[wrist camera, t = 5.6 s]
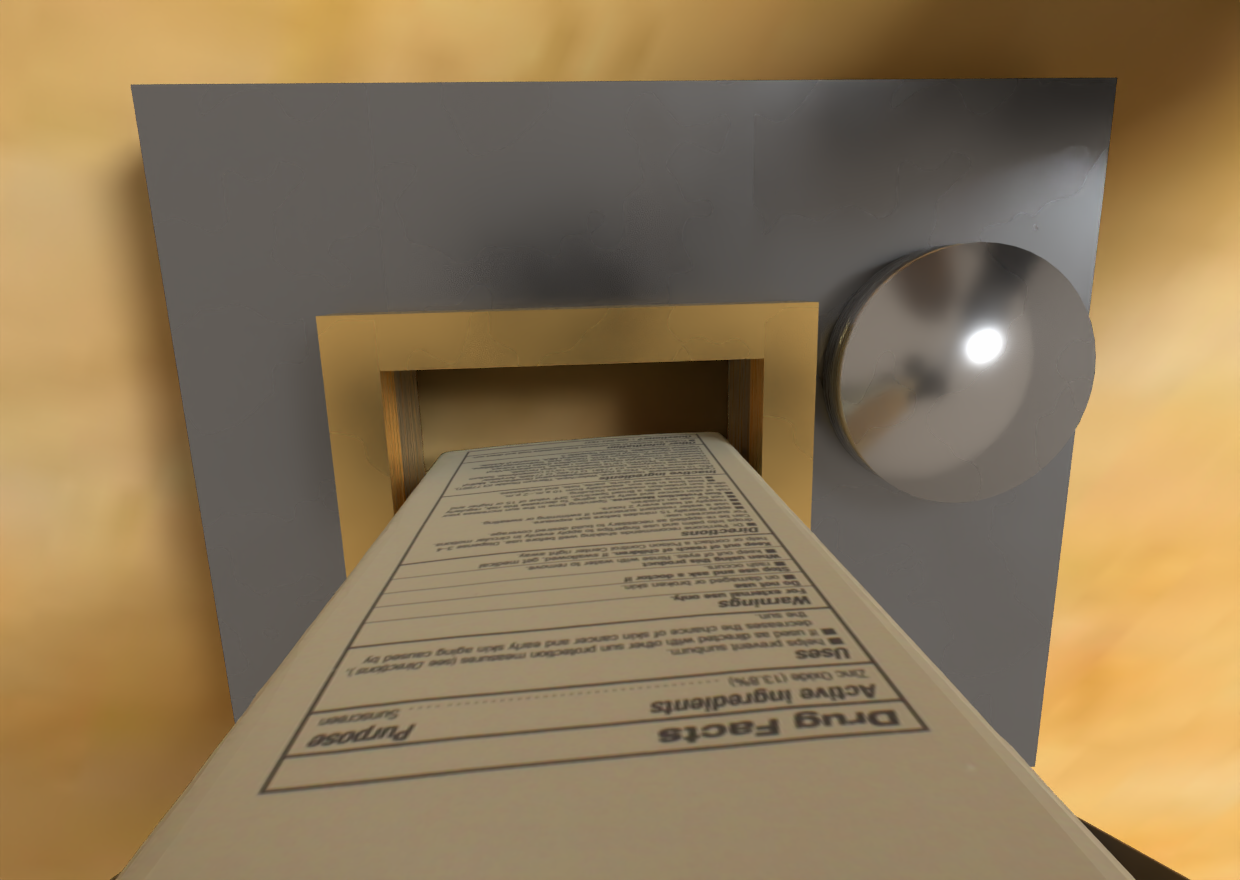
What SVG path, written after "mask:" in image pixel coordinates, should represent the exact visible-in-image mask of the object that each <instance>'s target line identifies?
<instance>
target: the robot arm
mask: <svg viewBox="0 0 1240 880" xmlns="http://www.w3.org/2000/svg"><path fill="white" fill-rule="evenodd" d="M1076 817H1077V816H1076ZM1077 818H1078V817H1077ZM1078 819H1079V820H1080V821H1081V822H1082V823H1083V824H1084V825H1085V826H1086V828H1087V829H1088V830H1089V831H1090V832H1091V833H1092V834H1093V835H1094V836H1095V837H1096V838H1097V839H1098V840H1099V841H1100V842H1101V843H1102V844H1103V846H1104V847H1105V848H1106V849H1107V850H1108V851H1109V852H1110V853H1111V854H1112V855H1113V856H1114V857H1115V858H1116V859H1117V860H1118V861H1119V862H1120V864H1121V865H1122V866H1123V867H1124V868H1125V869H1126V870H1127V871H1128V872H1129V873H1130V874H1131V875H1132V876H1133V878H1134V879H1135V880H1190V879H1188V878H1186V877H1184V876H1183V875H1181V874H1179V873H1177V872H1175V871H1174V870H1172V869H1170V868H1168V867H1166V866H1165V865H1163V864H1161V863H1159V862H1157V861H1156V860H1154V859H1152V858H1150V857H1149V856H1147V855H1145V854H1143V853H1141V852H1140V851H1138V850H1136V849H1134V848H1132V847H1131V846H1129V845H1127V844H1125V843H1123V842H1122V841H1120V840H1118V839H1116V838H1114V837H1113V836H1111V835H1109V834H1107V833H1105V832H1104V831H1102V830H1100V829H1098V828H1096V827H1095V826H1093V825H1091V824H1089V823H1087V822H1086V821H1084V820H1082V819H1080V818H1078ZM120 873H121V872H120ZM120 873H119V874H120ZM119 874H117V875H116V876H115V877H113V878H112V879H110V880H116V878H117V877H118V876H119Z"/></svg>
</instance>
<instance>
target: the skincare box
mask: <svg viewBox="0 0 1240 880" xmlns="http://www.w3.org/2000/svg"><path fill="white" fill-rule="evenodd" d="M116 880H1135V879H1134V878H1133V876H1132V875H1131V874H1130V873H1129V872H1128V871H1127V870H1126V869H1125V868H1124V867H1123V866H1122V865H1121V864H1120V862H1119V861H1118V860H1117V859H1116V858H1115V857H1114V856H1113V855H1112V854H1111V853H1110V852H1109V851H1108V850H1107V849H1106V848H1105V847H1104V846H1103V844H1102V843H1101V842H1100V841H1099V840H1098V839H1097V838H1096V837H1095V836H1094V835H1093V834H1092V833H1091V832H1090V831H1089V830H1088V829H1087V828H1086V826H1085V825H1084V824H1083V823H1082V822H1081V821H1080V820H1079V819H1078V818H1077V817H1076V816H1075V815H1074V814H1073V813H1072V812H1071V811H1070V810H1069V808H1068V807H1067V806H1066V805H1065V804H1064V803H1063V802H1062V801H1061V800H1060V799H1059V798H1058V797H1057V796H1056V795H1055V794H1054V793H1053V791H1052V790H1051V789H1050V788H1049V787H1048V786H1047V785H1046V784H1045V783H1044V781H1043V780H1042V779H1041V778H1040V777H1039V776H1038V775H1037V774H1036V773H1035V771H1034V770H1033V769H1032V768H1031V767H1030V766H1029V765H1028V764H1027V763H1026V761H1025V760H1024V759H1023V758H1022V757H1021V756H1020V755H1019V754H1018V753H1017V752H1016V750H1015V749H1014V748H1013V747H1012V746H1011V745H1010V744H1009V743H1008V742H1007V741H1006V740H1005V739H1003V738H1002V737H1001V736H1000V735H999V734H998V733H997V732H996V731H995V730H994V729H993V728H992V727H991V726H990V724H989V723H988V722H987V721H986V720H985V719H984V718H983V717H982V716H981V715H980V713H979V712H978V711H977V710H976V709H975V708H974V707H973V706H972V705H971V704H970V702H969V701H968V700H967V699H966V698H965V697H964V696H963V695H962V694H961V693H960V691H959V690H958V689H957V688H956V687H955V686H954V685H953V684H952V683H951V682H950V680H949V679H948V678H947V677H946V676H945V675H944V674H943V673H942V672H941V671H940V670H939V668H938V667H937V666H936V665H935V664H934V663H933V662H932V661H931V660H930V659H929V658H928V657H927V656H926V654H925V653H924V652H923V651H922V650H921V649H920V648H919V647H918V646H917V645H916V644H915V643H914V642H913V640H912V639H911V638H910V637H909V636H908V635H907V634H906V633H905V632H904V631H903V630H902V629H901V628H900V626H899V625H898V624H897V623H896V622H895V621H894V620H893V619H892V618H891V617H890V616H889V614H888V613H887V612H886V611H885V610H884V609H883V608H882V607H881V606H880V605H879V604H878V603H877V601H876V600H875V599H874V598H873V597H872V596H871V595H870V594H869V593H868V592H867V591H866V590H865V588H864V587H863V586H862V585H861V584H860V583H859V582H858V581H857V580H856V579H855V578H854V577H853V576H852V575H851V574H850V572H849V571H848V570H847V569H846V568H845V567H844V566H843V565H842V564H841V563H840V562H839V561H838V560H837V559H836V557H835V556H834V555H833V554H832V553H831V552H830V551H829V550H828V549H827V548H826V547H825V545H824V544H823V543H822V542H821V541H820V540H819V539H818V538H817V537H816V535H815V534H814V533H813V532H812V531H811V530H810V529H809V528H808V527H807V526H806V525H805V524H804V523H803V522H802V521H801V520H800V518H799V517H798V516H797V515H796V514H795V513H794V512H793V511H792V510H791V509H790V508H789V507H788V506H787V505H786V504H785V502H784V501H783V500H782V499H781V498H780V497H779V496H778V495H777V494H776V493H775V491H774V490H773V489H772V488H771V487H770V486H769V485H768V484H767V483H766V482H765V481H764V479H763V478H762V477H761V476H760V475H759V474H758V473H757V472H756V471H755V470H754V469H753V468H752V467H751V466H750V464H749V463H748V462H747V461H746V460H745V459H744V458H743V457H742V456H741V455H740V454H739V452H738V451H737V450H736V449H735V448H734V447H733V446H732V445H731V444H730V443H729V442H728V441H727V440H726V438H725V437H724V436H723V435H721V434H720V433H717V432H690V433H664V434H646V435H628V436H613V437H599V438H587V439H574V440H561V441H549V442H537V443H527V444H516V445H506V446H496V447H487V448H478V449H470V450H460V451H451V452H446V453H443V454H441V455H440V457H439V458H438V459H437V461H436V462H435V463H434V464H433V466H432V467H431V468H430V469H429V471H428V472H427V473H426V475H425V476H424V477H423V478H422V480H421V481H420V483H419V484H418V485H417V487H416V488H415V489H414V490H413V492H412V493H411V494H410V496H409V497H408V498H407V500H406V501H405V502H404V504H403V505H402V506H401V508H400V509H399V510H398V512H397V513H396V514H395V515H394V517H393V518H392V519H391V521H390V522H389V523H388V525H387V526H386V527H385V529H384V530H383V531H382V533H381V534H380V535H379V536H378V538H377V539H376V540H375V541H374V543H373V544H372V545H371V547H370V548H369V549H368V551H367V552H366V553H365V555H364V556H363V557H362V559H361V560H360V561H359V563H358V564H357V566H356V567H355V568H354V570H353V571H352V572H351V573H350V575H349V576H348V577H347V579H346V580H345V581H344V582H343V584H342V585H341V586H340V588H339V589H338V590H337V592H336V593H335V594H334V595H333V597H332V598H331V599H330V600H329V602H328V603H327V604H326V605H325V607H324V608H323V609H322V611H321V612H320V613H319V615H318V616H317V617H316V619H315V620H314V621H313V622H312V624H311V625H310V626H309V627H308V629H307V630H306V631H305V633H304V634H303V635H302V637H301V638H300V639H299V641H298V642H297V643H296V645H295V646H294V647H293V649H292V650H291V651H290V653H289V654H288V655H287V657H286V658H285V659H284V660H283V662H282V663H281V664H280V666H279V667H278V668H277V670H276V671H275V672H274V673H273V675H272V676H271V677H270V678H269V680H268V681H267V682H266V683H265V685H264V686H263V687H262V688H261V689H260V691H259V692H258V693H257V694H256V696H255V697H254V699H253V701H252V702H251V704H250V705H249V707H248V708H247V710H246V711H245V712H244V713H243V715H242V716H241V717H240V718H239V720H238V721H237V722H236V723H235V725H234V726H233V727H232V728H231V730H230V731H229V732H228V734H227V735H226V736H225V737H224V739H223V740H222V741H221V743H220V744H219V745H218V746H217V748H216V749H215V750H214V752H213V753H212V754H211V755H210V757H209V758H208V759H207V761H206V762H205V763H204V765H203V766H202V767H201V769H200V770H199V771H198V773H197V774H196V775H195V777H194V778H193V780H192V781H191V782H190V784H189V785H188V786H187V788H186V789H185V790H184V792H183V793H182V794H181V795H180V797H179V798H178V799H177V800H176V802H175V803H174V804H173V806H172V807H171V808H170V809H169V811H168V812H167V813H166V814H165V816H164V817H163V818H162V819H161V821H160V822H159V823H158V825H157V826H156V827H155V828H154V830H153V831H152V832H151V834H150V835H149V836H148V838H147V839H146V840H145V842H144V843H143V844H142V846H141V847H140V848H139V850H138V851H137V852H136V853H135V855H134V856H133V857H132V859H131V860H130V861H129V863H128V864H127V865H126V867H125V868H124V869H123V871H122V872H121V873H120V874H119V876H118V877H117V878H116Z"/></svg>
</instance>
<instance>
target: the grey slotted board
mask: <svg viewBox="0 0 1240 880" xmlns="http://www.w3.org/2000/svg"><path fill="white" fill-rule="evenodd" d="M1116 84H1117V78H1007V79H865V80H722V81H580V82H438V83H296V84H154V85H131V90H132V96H133V102H134V109H135V115H136V121H137V127H138V133H139V139H140V145H141V151H142V158H143V164H144V170H145V176H146V182H147V188H148V194H149V200H150V207H151V213H152V219H153V225H154V231H155V237H156V243H157V249H158V256H159V262H160V268H161V274H162V280H163V286H164V292H165V298H166V305H167V311H168V317H169V323H170V329H171V335H172V341H173V347H174V353H175V360H176V366H177V372H178V378H179V384H180V390H181V396H182V402H183V409H184V415H185V421H186V427H187V433H188V439H189V445H190V451H191V458H192V464H193V470H194V476H195V482H196V488H197V494H198V500H199V507H200V513H201V519H202V525H203V531H204V537H205V543H206V549H207V556H208V562H209V568H210V574H211V580H212V586H213V592H214V598H215V605H216V611H217V617H218V623H219V629H220V635H221V641H222V647H223V654H224V660H225V666H226V672H227V678H228V684H229V690H230V696H231V702H232V709H233V715H234V721H235V723H236V722H237V721H238V720H239V718H240V717H241V716H242V715H243V713H244V712H245V711H246V710H247V708H248V707H249V705H250V704H251V702H252V701H253V699H254V697H255V696H256V694H257V693H258V692H259V691H260V689H261V688H262V687H263V686H264V685H265V683H266V682H267V681H268V680H269V678H270V677H271V676H272V675H273V673H274V672H275V671H276V670H277V668H278V667H279V666H280V664H281V663H282V662H283V660H284V659H285V658H286V657H287V655H288V654H289V653H290V651H291V650H292V649H293V647H294V646H295V645H296V643H297V642H298V641H299V639H300V638H301V637H302V635H303V634H304V633H305V631H306V630H307V629H308V627H309V626H310V625H311V624H312V622H313V621H314V620H315V619H316V617H317V616H318V615H319V613H320V612H321V611H322V609H323V608H324V607H325V605H326V604H327V603H328V602H329V600H330V599H331V598H332V597H333V595H334V594H335V593H336V592H337V590H338V589H339V588H340V586H341V585H342V584H343V582H344V581H345V580H346V579H347V577H348V576H349V575H350V573H351V572H352V571H353V570H354V568H355V567H356V566H357V564H358V563H359V561H360V560H361V559H362V557H363V556H364V555H365V553H366V552H367V551H368V549H369V548H370V547H371V545H372V544H373V543H374V541H375V540H376V539H377V538H378V536H379V535H380V534H381V533H382V531H383V530H384V529H385V527H386V526H387V525H388V523H389V522H390V521H391V519H392V518H393V517H394V515H395V514H396V513H397V512H398V510H399V509H400V508H401V506H402V505H403V504H404V502H405V501H406V500H407V498H408V497H409V496H410V494H411V493H412V492H413V490H414V489H415V488H416V487H417V485H418V484H419V483H420V481H421V480H422V478H423V477H424V476H425V467H424V456H423V444H422V433H421V422H420V411H419V399H418V388H417V377H416V370H432V369H462V368H492V367H522V366H552V365H582V364H612V363H642V362H672V361H702V360H728V438H727V441H728V442H729V443H730V444H731V445H732V446H733V447H734V448H735V449H736V450H737V451H738V452H739V454H740V455H741V456H742V457H743V458H744V459H745V460H746V461H747V462H748V463H749V464H750V466H751V467H752V468H753V469H754V470H755V471H756V472H757V473H758V474H759V475H760V476H761V477H762V478H763V479H764V481H765V482H766V483H767V484H768V485H769V486H770V487H771V488H772V489H773V490H774V491H775V493H776V494H777V495H778V496H779V497H780V498H781V499H782V500H783V501H784V502H785V504H786V505H787V506H788V507H789V508H790V509H791V510H792V511H793V512H794V513H795V514H796V515H797V516H798V517H799V518H800V520H801V521H802V522H803V523H804V524H805V525H806V526H807V527H808V528H809V529H810V530H811V531H812V532H813V533H814V534H815V535H816V537H817V538H818V539H819V540H820V541H821V542H822V543H823V544H824V545H825V547H826V548H827V549H828V550H829V551H830V552H831V553H832V554H833V555H834V556H835V557H836V559H837V560H838V561H839V562H840V563H841V564H842V565H843V566H844V567H845V568H846V569H847V570H848V571H849V572H850V574H851V575H852V576H853V577H854V578H855V579H856V580H857V581H858V582H859V583H860V584H861V585H862V586H863V587H864V588H865V590H866V591H867V592H868V593H869V594H870V595H871V596H872V597H873V598H874V599H875V600H876V601H877V603H878V604H879V605H880V606H881V607H882V608H883V609H884V610H885V611H886V612H887V613H888V614H889V616H890V617H891V618H892V619H893V620H894V621H895V622H896V623H897V624H898V625H899V626H900V628H901V629H902V630H903V631H904V632H905V633H906V634H907V635H908V636H909V637H910V638H911V639H912V640H913V642H914V643H915V644H916V645H917V646H918V647H919V648H920V649H921V650H922V651H923V652H924V653H925V654H926V656H927V657H928V658H929V659H930V660H931V661H932V662H933V663H934V664H935V665H936V666H937V667H938V668H939V670H940V671H941V672H942V673H943V674H944V675H945V676H946V677H947V678H948V679H949V680H950V682H951V683H952V684H953V685H954V686H955V687H956V688H957V689H958V690H959V691H960V693H961V694H962V695H963V696H964V697H965V698H966V699H967V700H968V701H969V702H970V704H971V705H972V706H973V707H974V708H975V709H976V710H977V711H978V712H979V713H980V715H981V716H982V717H983V718H984V719H985V720H986V721H987V722H988V723H989V724H990V726H991V727H992V728H993V729H994V730H995V731H996V732H997V733H998V734H999V735H1000V736H1001V737H1002V738H1003V739H1005V740H1006V741H1007V742H1008V743H1009V744H1010V745H1011V746H1012V747H1013V748H1014V749H1015V750H1016V752H1017V753H1018V754H1019V755H1020V756H1021V757H1022V758H1023V759H1024V760H1025V761H1026V763H1027V764H1028V765H1029V766H1030V767H1034V766H1035V761H1036V753H1037V744H1038V736H1039V728H1040V719H1041V711H1042V702H1043V694H1044V686H1045V677H1046V669H1047V661H1048V652H1049V644H1050V636H1051V627H1052V619H1053V611H1054V602H1055V594H1056V586H1057V577H1058V569H1059V560H1060V552H1061V544H1062V535H1063V527H1064V519H1065V510H1066V502H1067V494H1068V485H1069V477H1070V469H1071V460H1072V452H1073V444H1074V435H1075V429H1076V427H1077V425H1078V424H1079V422H1080V420H1081V417H1082V415H1083V413H1084V411H1085V408H1086V406H1087V403H1088V400H1089V397H1090V393H1091V390H1092V385H1093V379H1094V374H1095V359H1096V354H1095V339H1094V334H1093V329H1092V325H1091V321H1090V318H1089V310H1090V302H1091V293H1092V285H1093V277H1094V268H1095V260H1096V252H1097V243H1098V235H1099V226H1100V218H1101V210H1102V201H1103V193H1104V185H1105V176H1106V168H1107V160H1108V151H1109V143H1110V135H1111V126H1112V118H1113V110H1114V101H1115V93H1116Z"/></svg>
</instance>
